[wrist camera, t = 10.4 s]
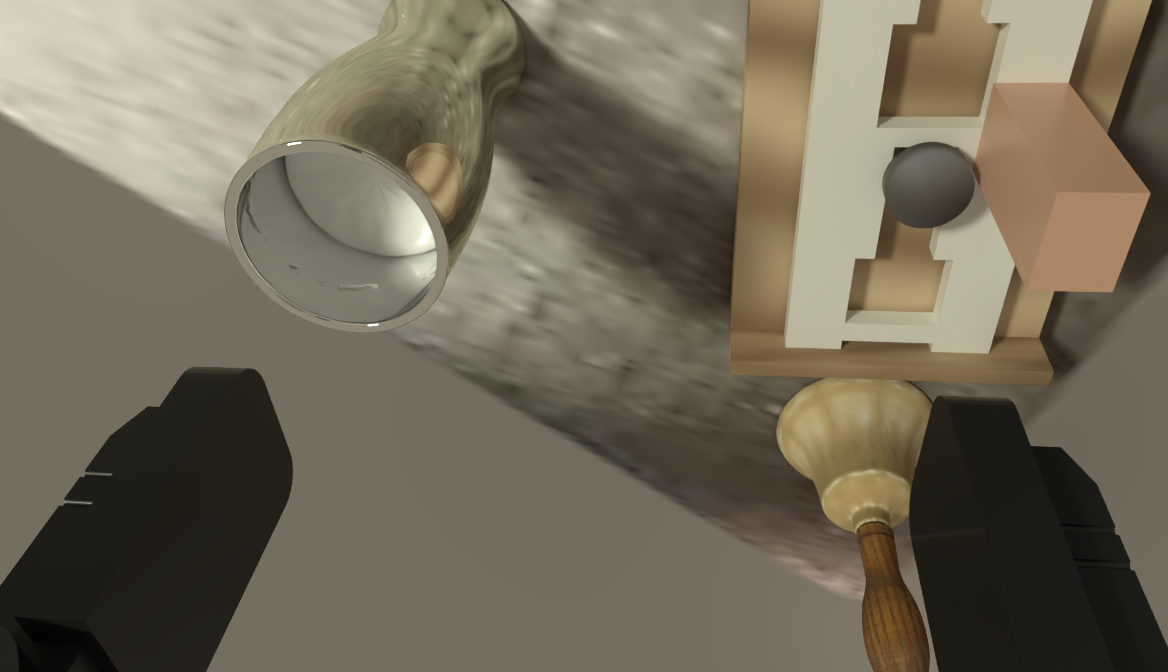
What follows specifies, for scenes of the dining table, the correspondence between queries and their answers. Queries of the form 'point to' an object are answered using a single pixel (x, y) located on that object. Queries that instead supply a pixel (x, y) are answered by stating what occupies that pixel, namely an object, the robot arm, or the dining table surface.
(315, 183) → the beer glass
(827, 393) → the hand bell
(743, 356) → the boss board
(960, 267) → the panel
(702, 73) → the dining table surface
